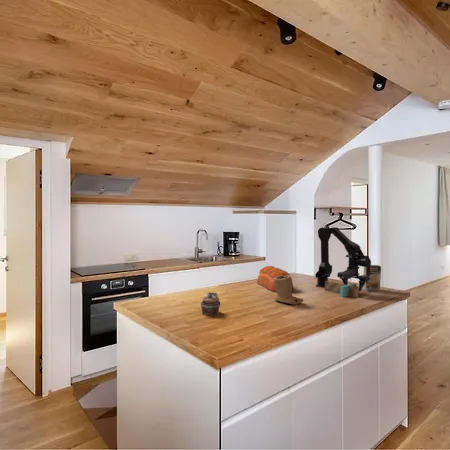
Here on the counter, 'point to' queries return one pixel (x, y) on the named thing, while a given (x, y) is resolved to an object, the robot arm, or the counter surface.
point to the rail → (336, 288)
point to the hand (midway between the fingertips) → (352, 290)
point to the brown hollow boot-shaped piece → (285, 290)
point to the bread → (270, 277)
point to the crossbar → (345, 290)
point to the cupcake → (210, 304)
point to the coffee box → (372, 278)
